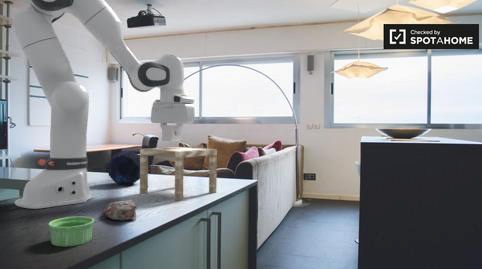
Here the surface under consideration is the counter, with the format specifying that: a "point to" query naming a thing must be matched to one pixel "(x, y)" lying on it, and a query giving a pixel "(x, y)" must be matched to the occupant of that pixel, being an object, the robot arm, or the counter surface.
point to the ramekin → (71, 231)
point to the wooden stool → (178, 167)
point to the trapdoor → (179, 149)
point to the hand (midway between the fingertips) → (171, 135)
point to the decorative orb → (124, 168)
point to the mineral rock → (121, 210)
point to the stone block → (170, 133)
